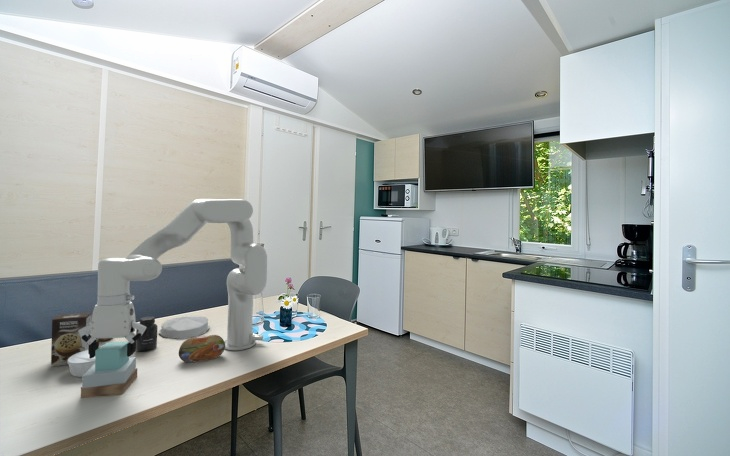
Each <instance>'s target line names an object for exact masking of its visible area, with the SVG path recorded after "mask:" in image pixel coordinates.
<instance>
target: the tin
mask: <svg viewBox="0 0 730 456" xmlns="http://www.w3.org/2000/svg"><path fill="white" fill-rule="evenodd" d="M224 341H225V340H224V338H223V337H221V336H220V335H218V334H211V335H203V336H195V337H190V338H186V339H185V340H184V341H183V342H182V343H181V345H180V346H179V349H178V356H179V358H180V360H181V361H182V362H184V363H188V364H191V363H197V362H202V361H210V360H215V359H218V358H219V357H220V356H222V354H223V353H224V351H225V350H226V349H225V342H224Z"/></svg>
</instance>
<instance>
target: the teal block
mask: <svg viewBox="0 0 730 456" xmlns="http://www.w3.org/2000/svg"><path fill="white" fill-rule="evenodd" d="M128 343H129V341H128V340H127V341H110V342H109V341H108V342H106V343H104V344H103V345H101V346H99V348H98V349H97V350H95V371H100V370H116V369H120V368H121V367H122V366H123V365H124V364H125V363H126V362H128V361H129V357H130V356H129V357H128V356H127V344H128Z"/></svg>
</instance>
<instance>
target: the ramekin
mask: <svg viewBox="0 0 730 456" xmlns="http://www.w3.org/2000/svg"><path fill="white" fill-rule="evenodd" d="M67 363H68V368H69V371H70V374H71V375H72V376H73V377H76V378H82V376H83V375H84V374H85V373H86V372H87V371H88V370H89V369H90V368H91V367H92V366H93V365H94V364H95V357H93V358H89V354H88V350H86V351H82V352H79V353H77V354H74V355H72V356H71V357H69V358H68V361H67Z"/></svg>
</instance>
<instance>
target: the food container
mask: <svg viewBox="0 0 730 456" xmlns="http://www.w3.org/2000/svg"><path fill="white" fill-rule="evenodd" d="M209 329H210V325H209V318H208V317H206V316H201V315H182V316H181V315H180V316H177V317H173V318H171V319H167V320H166V321H164V322H163V323H162V324H161V327H160V330H159V331H158V333H159V334H160V336H162V337H163V338H169V339H174V340H175V339H176V340H177V339H180V340H181V339H183V340H184V339H190V338H195V337H200V336H201V335H202V334H203V335H204V334H205V333H206V332H207V331H208V330H209Z"/></svg>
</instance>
